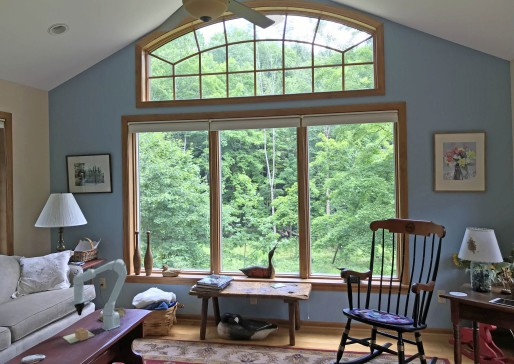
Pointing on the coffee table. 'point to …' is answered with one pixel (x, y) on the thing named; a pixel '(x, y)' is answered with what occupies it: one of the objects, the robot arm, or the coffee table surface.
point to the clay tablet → (119, 310)
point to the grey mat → (73, 339)
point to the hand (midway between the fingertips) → (79, 315)
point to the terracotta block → (81, 334)
